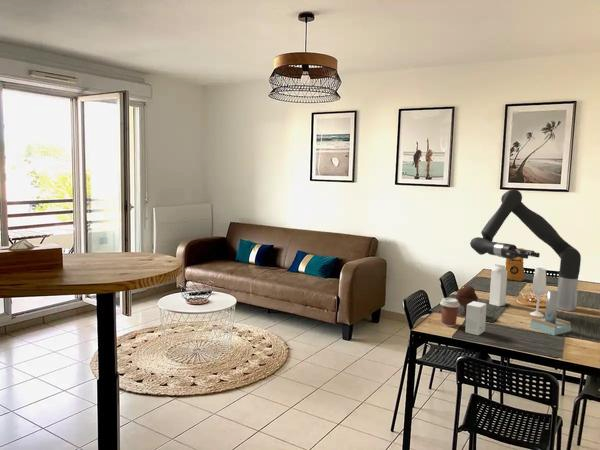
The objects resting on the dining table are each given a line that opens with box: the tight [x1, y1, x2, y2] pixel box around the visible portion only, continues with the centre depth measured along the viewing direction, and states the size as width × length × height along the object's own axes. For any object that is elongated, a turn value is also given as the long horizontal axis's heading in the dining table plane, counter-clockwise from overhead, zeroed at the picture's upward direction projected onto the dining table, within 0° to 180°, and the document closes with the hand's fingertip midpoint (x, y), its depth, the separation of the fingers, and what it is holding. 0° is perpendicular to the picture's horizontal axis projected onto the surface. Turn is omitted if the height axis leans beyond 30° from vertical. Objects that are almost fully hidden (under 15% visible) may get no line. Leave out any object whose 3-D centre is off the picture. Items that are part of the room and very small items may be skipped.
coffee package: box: [505, 247, 525, 282], centre depth 327 cm, size 10×12×22 cm
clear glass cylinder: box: [544, 289, 558, 324], centre depth 224 cm, size 4×4×15 cm
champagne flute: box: [529, 267, 547, 317], centre depth 247 cm, size 7×7×24 cm
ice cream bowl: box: [455, 285, 479, 317], centre depth 245 cm, size 11×11×15 cm
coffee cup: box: [439, 297, 461, 327], centre depth 229 cm, size 9×9×12 cm
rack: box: [529, 317, 572, 336], centre depth 225 cm, size 12×12×4 cm
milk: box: [488, 263, 508, 307], centre depth 265 cm, size 6×6×22 cm
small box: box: [464, 301, 487, 336], centre depth 219 cm, size 8×6×13 cm
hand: (533, 255), depth 236 cm, fingers open, 8 cm apart
